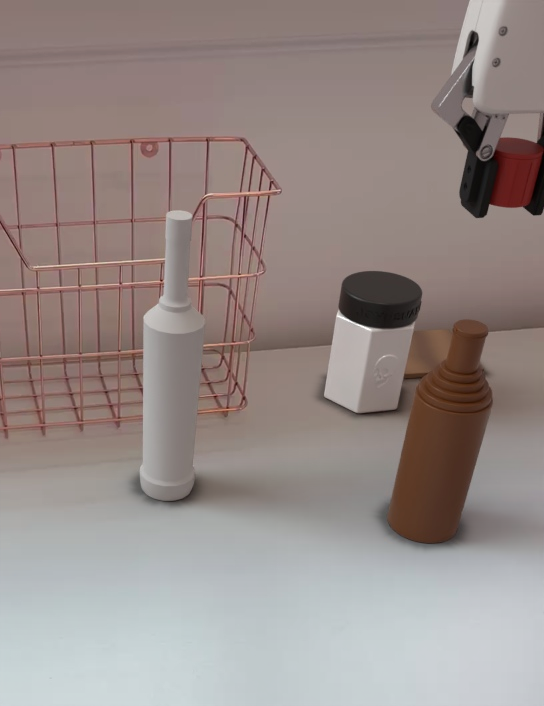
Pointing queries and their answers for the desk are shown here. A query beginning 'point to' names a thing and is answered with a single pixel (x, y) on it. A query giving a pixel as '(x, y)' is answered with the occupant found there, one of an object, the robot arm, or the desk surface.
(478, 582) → the desk surface
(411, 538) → the bottle
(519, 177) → the cap
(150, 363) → the bottle
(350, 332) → the jar
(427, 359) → the coaster
